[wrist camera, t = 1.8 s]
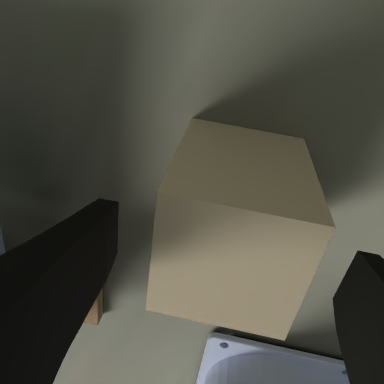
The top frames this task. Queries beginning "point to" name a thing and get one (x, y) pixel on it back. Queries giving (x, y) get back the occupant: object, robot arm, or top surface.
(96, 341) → the top surface
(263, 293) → the block
